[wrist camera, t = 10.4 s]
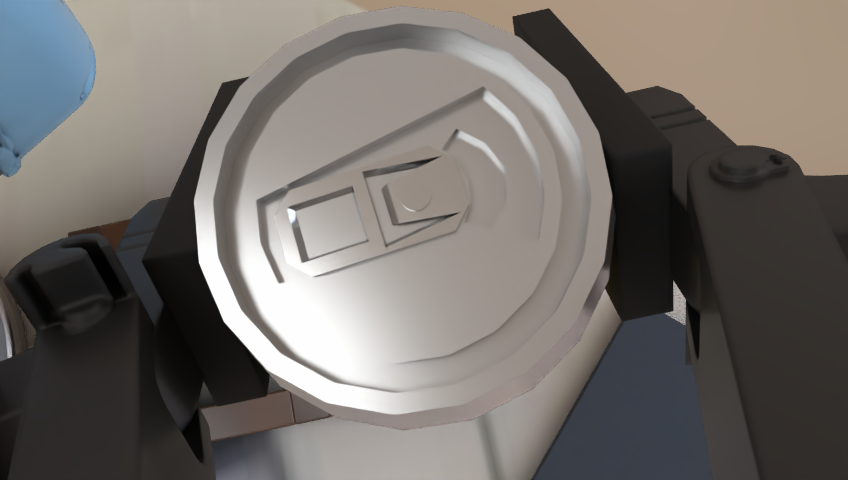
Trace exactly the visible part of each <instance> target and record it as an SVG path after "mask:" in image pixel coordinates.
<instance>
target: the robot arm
mask: <svg viewBox="0 0 848 480" xmlns="http://www.w3.org/2000/svg"><path fill="white" fill-rule="evenodd" d="M513 25H514V33H515V36H518V37H520V38H521V39H522V40H523V41H524V42H526V43H527V44H528V45H529V46H530V47H531V48H532V49H534V50H535V51H536V52H537V53H538V54H539V55H541V56H542V57H543V58H544V59H545V60H546V61H547V62H549V63H550V64H551V65H552V66H553V67H554V68H555V69H557V70H558V71H559V72H560V73H561V74H562V75H563V76H565V77H566V78H567V80H568V81H569V83H570V85H571V86H572V88H573V90H574V91H575V93H576V95H577V96H578V98H579V100H580V101H581V103H582V105H583V107H584V108H585V110H586V112H587V113H588V115H589V117H590V118H591V120H592V122H593V123H594V125H595V127H596V128H597V130H598V132H599V135H600V140H601V144H602V149H603V154H604V158H605V163H606V168H607V173H608V177H609V182H610V187H611V191H612V199H613V203H614V208H615V213H616V222H615V230H614V239H613V247H612V256H611V264H610V272H609V281H608V283H607V285H606V287H605V289H606V291H607V293H608V295H609V297H610V299H611V301H612V303H613V305H614V307H615V309H616V311H617V313H618V315H619V317H620V319H621V321H622V322H623V321H628V320H633V319H637V318H642V317H647V316H652V315H656V314H661V313H666V312H671V311H673V280H674V282H675V283H676V285H677V286H678V288H679V289H680V291H681V292H682V294H683V295H684V297H685V299H686V353H685V365H693V370H694V376H695V382H696V387H697V393H698V399H699V404H700V410H701V416H702V421H703V427H704V433H705V438H706V444H707V450H708V455H709V461H710V467H711V472H712V478H713V480H848V175H834V176H805V175H804V174H803V172H802V170H801V168H800V166H799V165H798V164H797V163H796V162H795V161H794V160H793V159H792V158H791V157H790V156H789V155H787V154H784V153H782V152H780V151H777V150H775V149H771V148H765V147H759V146H737V145H736V144H735V143H734V142H733V141H732V140H731V139H730V138H728V137H727V136H726V135H725V134H724V133H723V132H722V131H721V130H720V129H719V128H718V127H717V126H715V125H714V124H713V123H712V122H711V121H710V120H707V119H706V116H705V115H703V114H702V113H701V112H700V111H699V110H698V109H697V110H696V109H695V106H694V105H693V104H691V103H690V102H689V101H688V100H687V99H686V98H685V97H684V96H683V95H682V94H679V93H676V92H673V91H671V90H668V89H665V88H662V87H659V86H655V87H651V88H646V89H642V90H637V91H633V92H628V93H625V92H624V90H622V88H621V87H620V86H619V85H618V84H617V83H616V82H615V81H614V79H613V78H612V77H611V76H610V75H609V74H608V73H607V72H606V71H605V70H604V69H603V67H602V66H601V65H600V64H599V63H598V62H597V61H596V60H595V59H594V57H592V55H591V54H590V53H589V52H588V51H587V50H586V49H585V48H584V46H583V45H582V44H581V43H580V42H579V41H578V40H577V39H576V38H575V37H574V36H573V35H572V33H571V32H570V31H569V30H568V29H567V28H566V27H565V26H564V25H563V23H562V22H561V21H560V20H559V19H558V18H557V17H556V16H555V15H554V13H553V12H552V11H551V10H550V9H544V10H539V11H536V12H531V13H526V14H522V15H517V16H513ZM95 74H96V60H95V54H94V50H93V47H92V44H91V42H90V40H89V38H88V36H87V34H86V32H85V31H84V29H83V28H82V26H81V25H80V23H79V22H78V20H77V19H76V17H75V16H74V14H73V13H72V11H71V10H70V9H69V7H68V6H67V4H66V3H65V2H64V0H0V175H2V174H3V175H4V176H7V177H11V176H12V175H14V174H15V173H17V171H18V170H19V169H20V167H21V159H22V157H24V156H25V155H26V154H27V153H28V152H29V151H30V150H32V149H33V148H34V147H35V146H36V145H37V144H38V143H40V142H41V141H42V140H43V139H44V138H45V137H46V136H47V135H49V134H50V133H51V132H52V131H53V130H54V129H55V128H57V127H58V126H59V125H60V124H61V123H62V122H63V121H65V120H66V119H67V118H68V117H69V116H70V115H71V114H72V113H74V112H75V111H76V110H77V109H78V108H79V107H80V106H81V105H82V104H83V102H84V101H85V99H86V98H87V96H88V95H89V94H90V91H91V89H92V87H93V84H94V80H95ZM248 78H249V77H246V78H242V79H237V80H233V81H229V82H224V83H222V85H221V87H220V89H219V91H218V93H217V96H216V98H215V100H214V102H213V104H212V107H211V109H210V111H209V113H208V115H207V118H206V120H205V122H204V124H203V126H202V129H201V131H200V133H199V135H198V137H197V139H196V142H195V144H194V146H193V148H192V150H191V153H190V155H189V157H188V159H187V161H186V164H185V166H184V168H183V170H182V172H181V175H180V177H179V179H178V181H177V183H176V186H175V188H174V190H173V192H172V194H171V197H167V198H162V199H158V200H153V201H150V202H149V203H148V204H147V205H146V206H145V207H144V208H143V209H141V210H140V211H139V212H138V213H137V214H136V215H135V216H134V217H133V218H132V219H131V220H130V222H129V224H128V226H127V228H126V230H125V232H124V234H123V239H121V240H120V241H119V243H118V245H117V247H116V249H115V251H116V253H115V251H114V249H113V247H112V246H111V244H110V242H109V240H108V238H107V237H106V236H103V235H100V234H97V233H88V234H78V235H74V236H70V237H66V238H63V239H60V240H58V241H55V242H53V243H51V244H48V245H46V246H44V247H41V248H40V249H38V250H37V251H35V252H33V253H32V254H30V255H28V256H27V257H25V258H24V259H22V260H21V261H20V262H19V263H18V264H17V265H16V266H15V267H13V268H12V269H11V270H10V272H9V273H8V275H7V277H6V278H5V280H3V279H2V277H1V276H0V480H216V473H215V465H214V458H213V451H212V443H211V436H210V428H209V425H208V423H207V421H206V419H205V417H204V415H203V413H202V411H201V409H200V407H199V405H198V400H199V396H200V392H201V388H202V384H203V380H204V382H205V384H206V386H207V388H208V390H209V392H210V394H211V395H212V397H213V399H214V401H215V403H216V405H217V407H219V406H224V405H229V404H233V403H238V402H243V401H248V400H252V399H257V398H262V397H267V390H268V383H269V376H270V374H269V373H268V372H267V371H266V370H265V369H264V368H263V366H262V365H261V364H260V363H259V362H258V361H257V360H256V359H255V358H254V356H253V355H252V354H251V353H250V352H249V351H248V350H247V349H246V348H245V346H244V345H243V344H242V343H241V342H240V341H239V340H238V339H237V336H236V334H235V333H234V332H233V331H232V330H231V329H230V328H229V327H228V325H227V324H226V323H225V322H224V320H223V318H222V316H221V313H220V311H219V309H218V306H217V304H216V302H215V299H214V297H213V294H212V292H211V290H210V287H209V285H208V283H207V280H206V278H205V276H204V273H203V271H202V269H201V266H200V264H199V256H198V244H197V232H196V219H195V207H194V198H195V194H196V190H197V185H198V181H199V177H200V173H201V168H202V164H203V160H204V156H205V151H206V147H207V143H208V139H209V138H210V136H211V134H212V133H213V131H214V129H215V128H216V126H217V124H218V122H219V121H220V119H221V117H222V116H223V114H224V112H225V111H226V109H227V107H228V105H229V104H230V102H231V100H232V99H233V97H234V95H235V94H236V92H237V90H238V88H239V87H240V86H241V85H242V84H243V83H244V82H245V81H246V80H247V79H248ZM12 295H13V296H12ZM13 297H14V298H15V300H16V301H17V303H18V304H19V306H20V307H21V309H22V310H23V312H24V313H25V315H26V316H27V317H28V319H29V320H30V322H31V323H32V325H33V326H34V328H35V329H36V331H37V332H36V337H35V342H34V347H33V348H31V349H29V350H28V349H27V341H26V335H25V329H24V325H23V322H22V318H21V315H20V312H19V309H18V307H17V304H16V302H15V300H14V298H13Z"/></svg>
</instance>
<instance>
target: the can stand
mask: <svg viewBox="0 0 848 480" xmlns="http://www.w3.org/2000/svg"><path fill="white" fill-rule="evenodd" d="M130 220H131V219H128V220H124V221H119V222H115V223H110V224H106V225H101V226H96V227H92V228H87V229H83V230H78V231H74V232H69V233H68V237H70V236H74V235H78V234H88V233H97V234H100V235H103V236H106V237H107V238H108V240H109V242H110V244H111V246H112V247H113V249H114V251H115V249H116V247H117V245H118V243H119V241H120V240H121V239H123V234H124V232H125V230H126V228H127V226H128V224H129V222H130ZM115 253H116V251H115ZM200 409H201V411H202V413H203V415H204V417H205V419H206V421H207V423H208V425H209V428H210V436H211V442H214V441H219V440H224V439H229V438H234V437H238V436H243V435H248V434H253V433H257V432H262V431H267V430H272V429H276V428H281V427H286V426H291V425H295V424H300V423H305V422H310V421H314V420H319V419H324V418H329V417H333V415H331V414H329V413H327V412H326V411H324V410H322V409H320V408H318V407H317V406H315V405H313V404H311V403H309V402H308V401H306V400H304V399H302V398H300V397H299V396H297V395H295V394H293V393H291V392H290V391H288V390H281V391H276V392H272V393H267V397H262V398H257V399H252V400H248V401H243V402H238V403H233V404H229V405H224V406H219V407H217V405H216V404H215V405H210V406H206V407H201V408H200Z"/></svg>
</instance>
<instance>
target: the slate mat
mask: <svg viewBox="0 0 848 480" xmlns="http://www.w3.org/2000/svg"><path fill="white" fill-rule="evenodd" d="M685 353H686V326H685V325H683V324H681V323H680V322H678V321H676V320H674V319H673V318H671V317H669V316H667V315H666V314H664V313H661V314H656V315H652V316H647V317H642V318H637V319H633V320H628V321H623V322H621V323H620V325H619V327H618V329H617V330H616V332H615V334H614V336H613V338H612V339H611V341H610V343H609V345H608V346H607V348H606V350H605V352H604V353H603V355H602V357H601V359H600V360H599V362H598V364H597V366H596V367H595V369H594V371H593V373H592V374H591V376H590V378H589V380H588V381H587V383H586V385H585V387H584V388H583V390H582V392H581V394H580V395H579V397H578V399H577V401H576V402H575V404H574V406H573V408H572V409H571V411H570V413H569V415H568V416H567V418H566V420H565V422H564V423H563V425H562V427H561V429H560V430H559V432H558V434H557V436H556V437H555V439H554V441H553V443H552V444H551V446H550V448H549V450H548V451H547V453H546V455H545V457H544V458H543V460H542V462H541V464H540V466H539V467H538V469H537V471H536V473H535V474H534V476H533V478H532V480H713V478H712V472H711V467H710V461H709V455H708V450H707V444H706V438H705V433H704V427H703V421H702V416H701V410H700V404H699V399H698V393H697V387H696V382H695V376H694V370H693V365H685Z"/></svg>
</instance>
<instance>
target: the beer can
mask: <svg viewBox="0 0 848 480" xmlns="http://www.w3.org/2000/svg"><path fill="white" fill-rule="evenodd" d="M194 207H195V219H196V232H197V244H198V256H199V264H200V266H201V269H202V271H203V273H204V276H205V278H206V280H207V283H208V285H209V287H210V290H211V292H212V294H213V297H214V299H215V302H216V304H217V306H218V309H219V311H220V313H221V316H222V318H223V320H224V322H225V323H226V324H227V325H228V327H229V328H230V329H231V330H232V331H233V332H234V333H235V334H236V336H237V339H238V340H239V341H240V342H241V343H242V344H243V345H244V346H245V348H246V349H247V350H248V351H249V352H250V353H251V354H252V355H253V356H254V358H255V359H256V360H257V361H258V362H259V363H260V364H261V365H262V366H263V368H264V369H265V370H266V371H267V372H268V373H269V374H270V375H271V376H272V378H273V379H274V380H275V381H276V382H277V383H278V384H279V385H280V386H281V387H282V388H284V389H286V390H288V391H290V392H291V393H293V394H295V395H297V396H299V397H300V398H302V399H304V400H306V401H308V402H309V403H311V404H313V405H315V406H317V407H318V408H320V409H322V410H324V411H326V412H327V413H329V414H331V415H333V416H335V417H336V418H339V419H345V420H350V421H356V422H361V423H367V424H372V425H378V426H383V427H389V428H394V429H400V430H409V429H416V428H422V427H429V426H436V425H442V424H449V423H456V422H463V421H469V420H473V419H475V418H477V417H479V416H481V415H483V414H484V413H486V412H488V411H490V410H492V409H494V408H496V407H498V406H500V405H502V404H504V403H506V402H508V401H510V400H512V399H514V398H516V397H518V396H520V395H522V394H524V393H526V392H528V391H529V390H531V389H533V388H534V387H535V386H536V385H537V384H538V383H539V382H540V381H541V380H542V379H543V378H544V377H545V376H546V375H547V374H548V373H549V371H550V370H551V369H552V368H553V367H554V366H555V365H556V364H557V363H558V362H559V361H560V360H561V359H562V358H563V357H564V356H565V355H566V354H567V353H568V352H569V351H570V350H571V349H572V348H573V347H574V346H575V345H576V344H577V343H578V342H579V341H580V339H581V337H582V335H583V333H584V331H585V329H586V326H587V324H588V322H589V320H590V318H591V316H592V314H593V312H594V310H595V308H596V306H597V303H598V301H599V299H600V297H601V295H602V293H603V291H604V289H605V287H606V285H607V283H608V281H609V272H610V264H611V256H612V247H613V239H614V230H615V222H616V213H615V208H614V203H613V199H612V191H611V187H610V182H609V177H608V173H607V168H606V163H605V158H604V154H603V149H602V144H601V140H600V135H599V132H598V130H597V128H596V127H595V125H594V123H593V122H592V120H591V118H590V117H589V115H588V113H587V112H586V110H585V108H584V107H583V105H582V103H581V101H580V100H579V98H578V96H577V95H576V93H575V91H574V90H573V88H572V86H571V85H570V83H569V81H568V80H567V78H566V77H565V76H563V75H562V74H561V73H560V72H559V71H558V70H557V69H555V68H554V67H553V66H552V65H551V64H550V63H549V62H547V61H546V60H545V59H544V58H543V57H542V56H541V55H539V54H538V53H537V52H536V51H535V50H534V49H532V48H531V47H530V46H529V45H528V44H527V43H526V42H524V41H523V40H522V39H521V38H520V37H518V36H515V35H513V34H511V33H508V32H506V31H504V30H501V29H499V28H497V27H495V26H492V25H490V24H487V23H485V22H483V21H481V20H478V19H476V18H474V17H471V16H469V15H467V14H465V13H459V12H451V11H442V10H434V9H424V8H416V7H407V6H398V7H393V8H387V9H381V10H376V11H370V12H364V13H359V14H353V15H348V16H342V17H339V18H337V19H335V20H333V21H331V22H329V23H327V24H325V25H323V26H321V27H319V28H317V29H315V30H313V31H311V32H309V33H307V34H305V35H303V36H301V37H299V38H297V39H295V40H293V41H291V42H289V43H287V44H285V45H284V46H283V47H282V48H281V49H280V50H278V51H277V52H276V53H275V54H274V55H273V56H272V57H271V58H270V59H269V60H268V61H267V62H266V63H264V64H263V65H262V66H261V67H260V68H259V69H258V70H257V71H256V72H255V73H254V74H253V75H251V76H250V77H249V78H248V79H247V80H246V81H245V82H244V83H243V84H242V85H241V86H240V87H239V88H238V90H237V92H236V94H235V95H234V97H233V99H232V100H231V102H230V104H229V105H228V107H227V109H226V111H225V112H224V114H223V116H222V117H221V119H220V121H219V122H218V124H217V126H216V128H215V129H214V131H213V133H212V134H211V136H210V138H209V139H208V143H207V147H206V151H205V156H204V160H203V164H202V168H201V173H200V177H199V181H198V185H197V190H196V194H195V198H194Z"/></svg>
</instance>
